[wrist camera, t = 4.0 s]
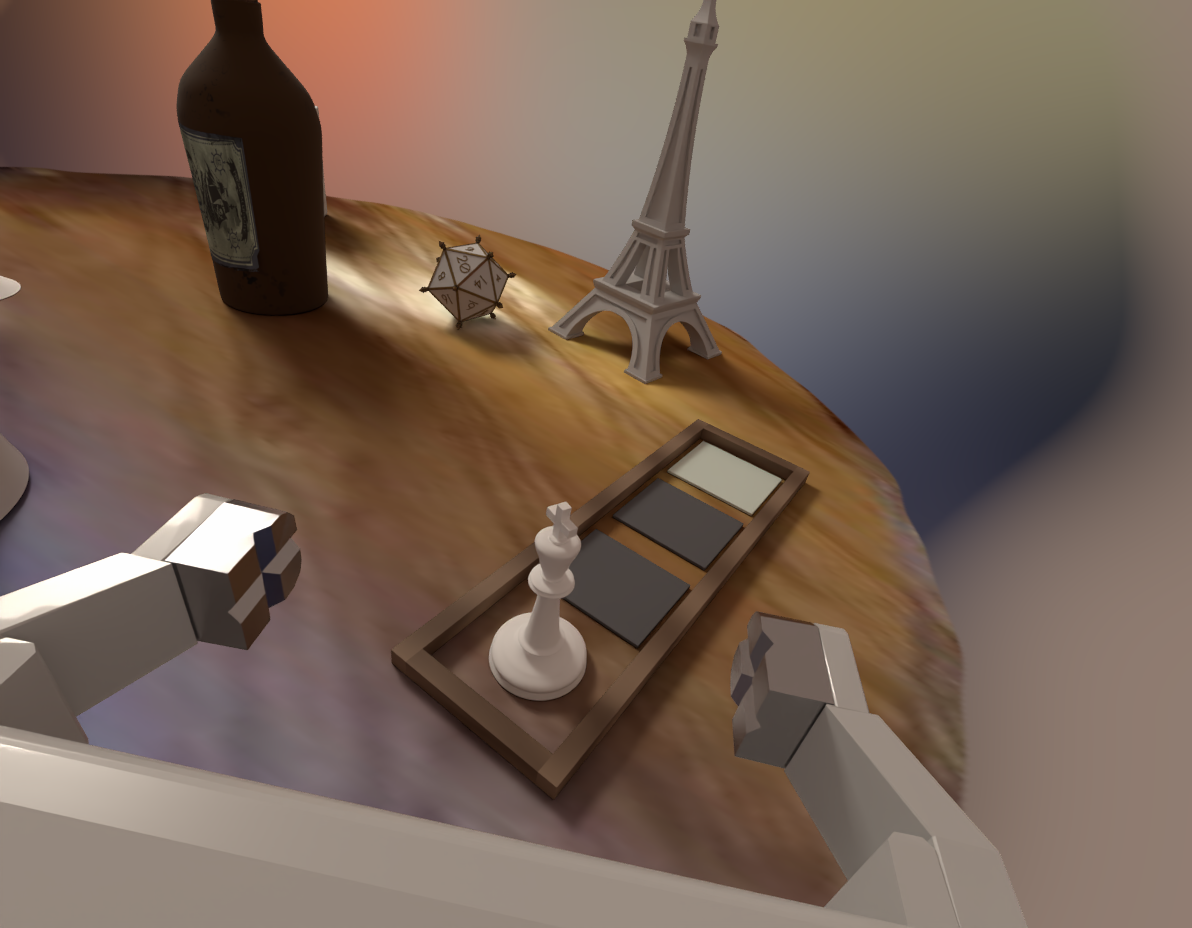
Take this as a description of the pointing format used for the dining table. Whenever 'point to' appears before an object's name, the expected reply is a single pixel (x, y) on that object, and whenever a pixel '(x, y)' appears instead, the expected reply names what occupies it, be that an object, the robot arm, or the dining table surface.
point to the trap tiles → (631, 582)
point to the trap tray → (571, 754)
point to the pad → (725, 477)
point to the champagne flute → (8, 287)
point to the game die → (468, 281)
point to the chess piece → (544, 622)
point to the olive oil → (255, 167)
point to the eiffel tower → (659, 236)
